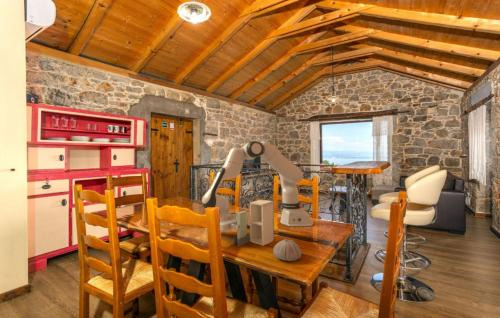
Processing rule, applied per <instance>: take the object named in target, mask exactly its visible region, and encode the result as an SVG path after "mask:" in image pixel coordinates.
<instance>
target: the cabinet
mask: <svg viewBox="0 0 500 318" xmlns="http://www.w3.org/2000/svg"><path fill="white" fill-rule="evenodd" d="M274 202H275V201H273V200H267V199H258V200H253V201H249V233H247V236H245V237H243V238H240V239H238V240H237V236H235V237H232V245H233V246H234V245H237V247H241V246H244V245H247V244H249V243H253V244H257V245H259V246H262V247H263V246H266V245H268V244H269V243H272V242H273V241H275V212H274V210H275V206H274V205H275V203H274Z"/></svg>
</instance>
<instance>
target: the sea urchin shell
mask: <svg viewBox="0 0 500 318" xmlns="http://www.w3.org/2000/svg"><path fill="white" fill-rule="evenodd" d="M272 251H273V252H272V253H273V255H274V257H276V258H277V259H278V260H282V261H285V262H286V261H287V262H294V261H297V260H299V259H300V258H301V256H302V250H301V248H300V245H298V244H297V243H296V241H294V240H292V239H282V240H280V241H278V242H277V243H276V244H275V245H274V247H273V248H272Z"/></svg>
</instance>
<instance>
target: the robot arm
mask: <svg viewBox="0 0 500 318" xmlns="http://www.w3.org/2000/svg"><path fill="white" fill-rule="evenodd" d="M259 157H260V158H262V160H264V161H265V162H266V163H267V164H268V165H269V166H270V167H271V168H272V169H273V170H274V171H275V172H277V174H278V176H279V179H280V186H281V192H282V195H281V196H282V197H281V199H282V200H281V217H280V221H279V223H281V224H282V225H285V226H288V227H312V226H314V220H313V219H311V217H310V214H309V212H307V211H306V210H305V209H303V208H302V207H303V204H302V203H301V202H299V189H298V187H297V184H299V183H300V182H302V180H304V179H303V178H304V174H303V171H302V170H301V169H300V168H299V167H298V166H296V165H295V164H294V163H293V162H291V160H289V159H287V158H286V157H285V155H283V154H282V152H280V151H279V150H278V149H277V148H276V147H275V146H274V145H272V144H271V143H270V142H268V141H267V140H263V141H261V142H260V141H258V140H257V141H256V140H254V141H253V140H252V141H250V142H247V143H245V144H244V145H242V146H241V147H232V148H230V150H229V153H228V154H227V156H226V158H225V161H224V163H223V165H222V167H219V169H217V171H216V172H215V174H214V176H213V178H212V179H211V182H210V184H209V185H208V188H207V190H206V191H205V193H204V194H203V195H202V197H201V205H202V207H203V208H204V209H205V208H207V207H219V216H220V230H219V231H221V232H226V231H228V230H231V229H236V230H237V229H238V228H240V225H238V224H237V218H236V217H237V213H238V212H229V209H230V199H229V198H228V197H225V196H223V195H219V194H218V191H219V189H220V187H221V185H222V183H223V181H224V180H226V179H235V178H236V177H237V176H238V177H239V175H240V172H241V171H242V167H243V164H244V162H245V161H252V160H255V159H256V158H259ZM247 226H249V217H248V216H247Z"/></svg>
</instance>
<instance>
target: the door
mask: <svg viewBox="0 0 500 318" xmlns="http://www.w3.org/2000/svg"><path fill="white" fill-rule="evenodd" d="M236 213H237V217H236V218H237V224H238V225H240V228H238V229H236V232H237V233H236V237H237V240H238V239H240V238H243V237H245V236H247V234H248V227H247V226H248V225H247V217H248V215H247V213H248V212H247V211H246V210H242V211H239V212H236Z"/></svg>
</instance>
